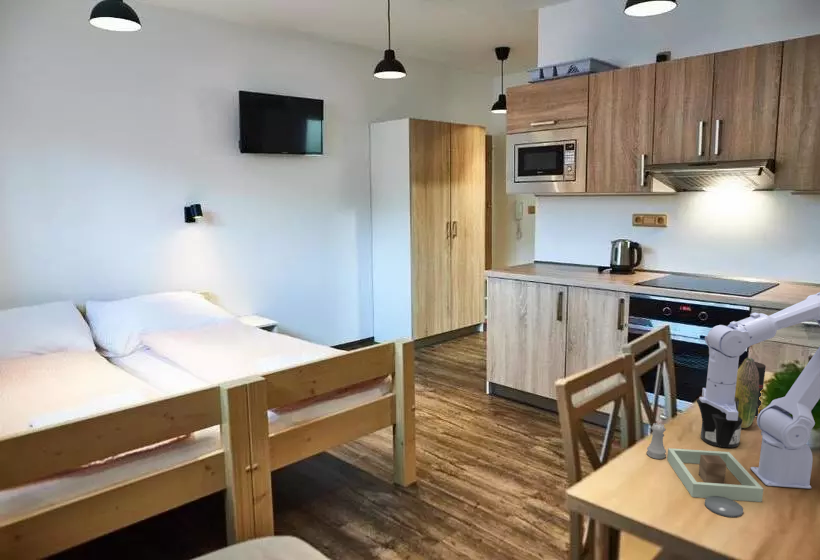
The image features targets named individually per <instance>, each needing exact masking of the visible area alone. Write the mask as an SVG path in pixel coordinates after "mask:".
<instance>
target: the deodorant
mask: <svg viewBox="0 0 820 560" xmlns="http://www.w3.org/2000/svg"><path fill="white" fill-rule="evenodd" d="M743 362H744V361H742V362H741V364H742V363H743ZM754 362H755V364H756V367H757V369H758V372H759V395H758V401H757V407H756V413H755V416H758V408H759V406H760V405H761V406H762V402H761V401H760V400H759V397H760V396H761V393H760V391H761V390H762V389H763V390H764V383H765V374H766V367H767V366H766V364H764V363H761V362H757V361H754Z"/></svg>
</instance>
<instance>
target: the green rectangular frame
mask: <svg viewBox="0 0 820 560" xmlns="http://www.w3.org/2000/svg"><path fill="white" fill-rule="evenodd" d="M701 455H715V456H720V457H721V459H722V460H723V461H724V462H725V463H726V469H727V470H729V472H730V473H731V474H732V475H733V476H734V477H735V478H736V480H737V481H738V482H739V483H740V484H733V483H732V484H730V483H724V484H719V483H704V481H697V480H696V478H695V477H694V476H693V475H692V474H691V472H690V471H689V469H688V468H687V466H686V465H685V464H696V465H700V456H701ZM666 457H667V458H666V460H667V461H668V463H669V465H670V467H672V469H673V471H674V472H675V474H676V476H677V477H678V479H680V481H681V482H682V484H683V486H684V487H685V488H686V490H687V492H688V493H689V495H690V497H692V498H701V499H706V498H707V497H710V496H720V497H725V498H728V499H731V500H733V501H744V502H756V503H762V502H763V496H764V495H763V494H764V488H763V487H762V485H760V483H759V482H757V481H758V480H756V479H755V478H754V477H753V476H752V475H751V474H750V473H749V472H748V471H747V469H746V468H745V467H744V466H743V465H742V464H741V463H740V462H739V461H738V459H736V458H735V456H733V454H732V453H731V452H730V451H718V450H717V451H716V450H703V449H702V450H701V449H685V448H684V449H683V448H669V447H668V448H667V455H666Z"/></svg>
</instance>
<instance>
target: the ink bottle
mask: <svg viewBox="0 0 820 560" xmlns="http://www.w3.org/2000/svg"><path fill="white" fill-rule="evenodd" d="M734 401H735V404H736V410H737V411H738V406H739V399H738V398H737V397H735V400H734ZM720 414H721V415H722V411H721V412H720ZM700 429H701V430H700V437H701V439H702V440H703V441H704V442H705V443H707V444H709V445H711V446H714V447H718V448H719V447H720V446H717V443H716V429H715V431H714V432H705V431H704V429H703V423H702V422H701V428H700ZM741 431H742V428H741V425H740V426H739V427H738V428H737V429H736V431H735V432H734V434H733V436H732V439H731V441H730V443H729V445H728V447H725V448H731V449H732V448H736V447H738V446H739V444H740V439H741ZM720 448H721V447H720Z"/></svg>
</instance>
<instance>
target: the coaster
mask: <svg viewBox="0 0 820 560" xmlns="http://www.w3.org/2000/svg"><path fill="white" fill-rule="evenodd" d="M704 506H705V508H706V509H707V510H709V512H711V513H714V514H716V515H718V516H721V517H726V518H739V517H742V515H743V514H744V507H743V506H742V505H741V504H740V503H738V502H737V501H736V500H731V499H728V498H725V497H720V496H710V497H707V498H704Z"/></svg>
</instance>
